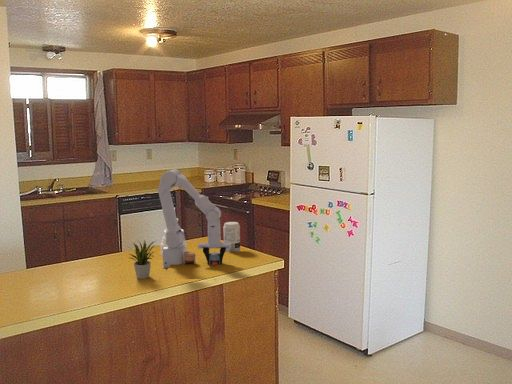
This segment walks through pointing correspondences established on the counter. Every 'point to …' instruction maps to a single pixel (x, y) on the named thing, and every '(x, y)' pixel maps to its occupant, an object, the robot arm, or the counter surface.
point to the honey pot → (167, 245)
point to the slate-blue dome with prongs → (214, 257)
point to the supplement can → (232, 236)
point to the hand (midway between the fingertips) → (214, 263)
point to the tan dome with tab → (189, 258)
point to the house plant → (142, 260)
